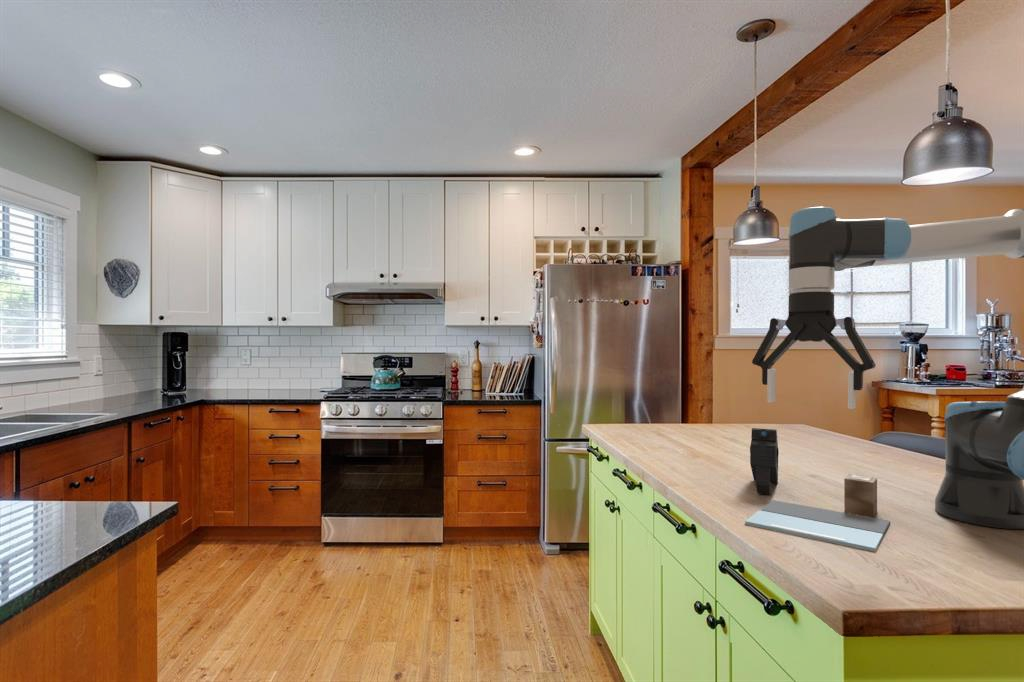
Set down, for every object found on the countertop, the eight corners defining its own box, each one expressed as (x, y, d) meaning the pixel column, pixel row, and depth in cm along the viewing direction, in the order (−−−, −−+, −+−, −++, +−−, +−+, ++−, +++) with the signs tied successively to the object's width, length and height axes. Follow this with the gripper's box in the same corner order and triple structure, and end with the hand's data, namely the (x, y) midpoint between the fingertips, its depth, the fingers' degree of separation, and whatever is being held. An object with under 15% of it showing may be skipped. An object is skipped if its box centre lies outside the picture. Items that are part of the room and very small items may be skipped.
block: (877, 511, 112) (877, 477, 112) (873, 517, 108) (873, 482, 108) (849, 507, 115) (848, 473, 116) (844, 512, 112) (844, 478, 112)
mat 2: (883, 537, 97) (883, 533, 97) (875, 551, 91) (875, 547, 91) (759, 513, 111) (759, 509, 111) (745, 524, 104) (745, 520, 104)
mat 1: (890, 523, 105) (890, 520, 105) (883, 536, 98) (883, 533, 98) (773, 502, 118) (773, 500, 118) (760, 512, 112) (760, 509, 112)
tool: (747, 484, 123) (749, 422, 129) (752, 506, 137) (754, 450, 144) (777, 487, 120) (777, 424, 127) (779, 510, 135) (780, 452, 141)
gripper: (894, 290, 96) (893, 409, 96) (749, 296, 113) (748, 398, 113) (888, 286, 91) (886, 413, 91) (736, 293, 108) (734, 401, 108)
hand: (809, 405), depth 102 cm, fingers open, 13 cm apart
